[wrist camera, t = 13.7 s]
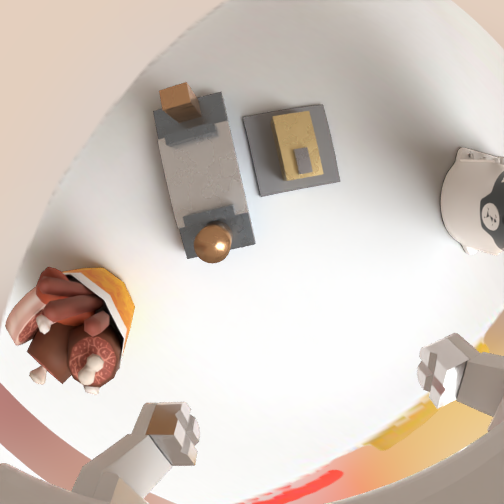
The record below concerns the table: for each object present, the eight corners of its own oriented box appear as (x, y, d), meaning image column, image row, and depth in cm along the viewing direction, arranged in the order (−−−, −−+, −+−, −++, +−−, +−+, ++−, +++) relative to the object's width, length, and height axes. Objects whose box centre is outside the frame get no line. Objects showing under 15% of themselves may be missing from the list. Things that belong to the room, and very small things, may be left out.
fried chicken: (120, 362, 44) (74, 440, 25) (53, 306, 41) (-15, 360, 22) (177, 285, 40) (126, 366, 21) (94, 217, 38) (1, 249, 18)
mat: (321, 105, 34) (322, 104, 33) (338, 181, 37) (340, 181, 36) (243, 118, 35) (243, 117, 34) (260, 196, 37) (261, 196, 37)
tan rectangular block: (270, 123, 34) (273, 114, 30) (303, 117, 34) (310, 109, 29) (283, 180, 36) (288, 180, 31) (315, 174, 36) (325, 174, 31)
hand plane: (160, 116, 34) (132, 97, 25) (223, 98, 34) (214, 72, 24) (191, 253, 39) (174, 276, 29) (254, 239, 39) (256, 259, 29)
